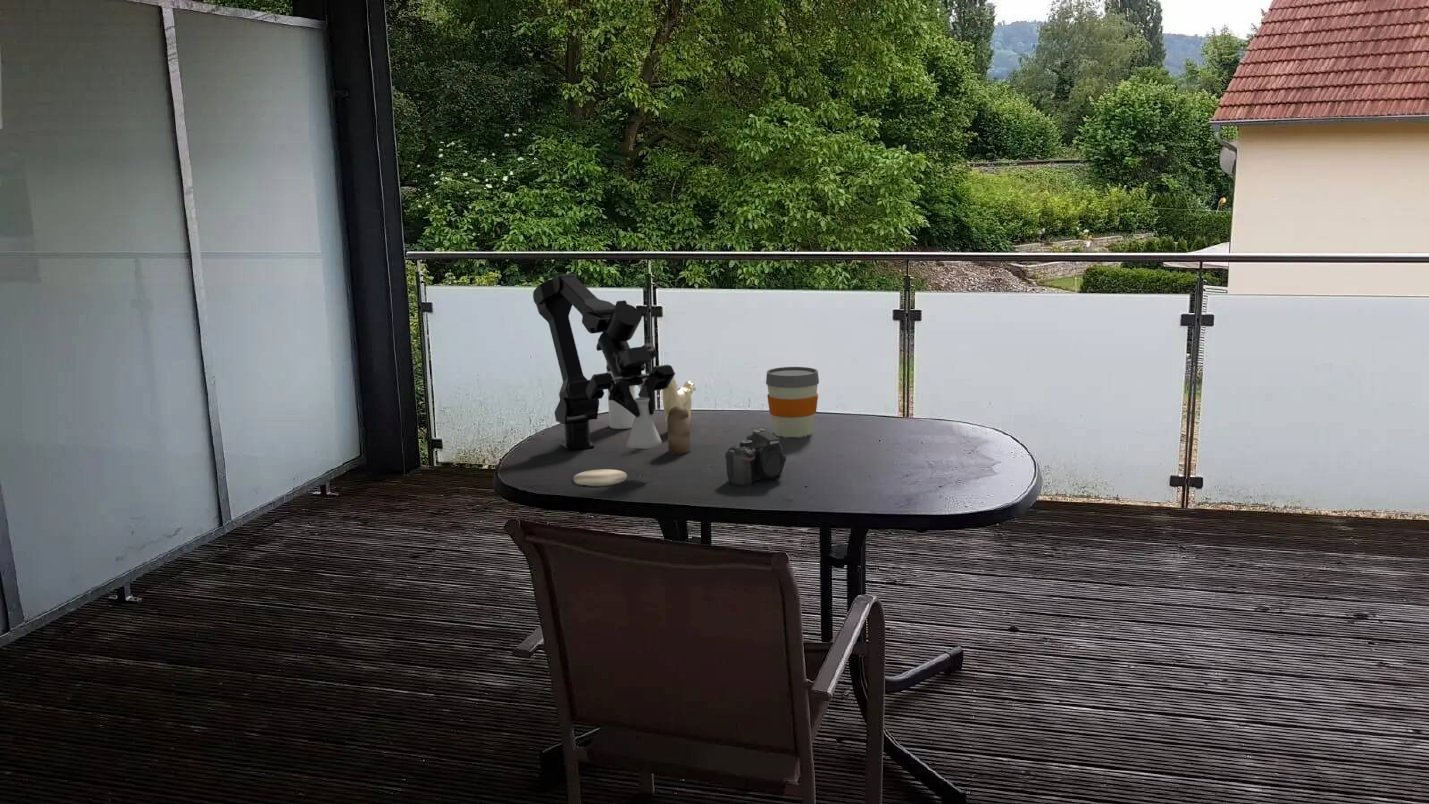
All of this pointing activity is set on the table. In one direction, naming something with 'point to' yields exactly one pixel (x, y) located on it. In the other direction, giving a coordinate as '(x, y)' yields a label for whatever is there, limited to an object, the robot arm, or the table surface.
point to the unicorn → (677, 397)
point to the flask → (643, 428)
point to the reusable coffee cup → (792, 400)
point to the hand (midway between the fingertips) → (645, 414)
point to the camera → (755, 458)
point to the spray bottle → (620, 412)
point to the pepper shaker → (678, 430)
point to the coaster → (600, 477)
